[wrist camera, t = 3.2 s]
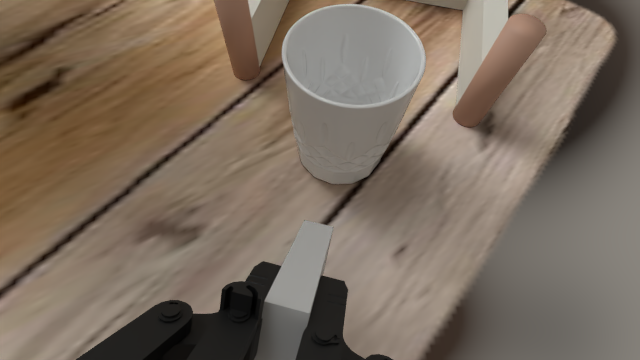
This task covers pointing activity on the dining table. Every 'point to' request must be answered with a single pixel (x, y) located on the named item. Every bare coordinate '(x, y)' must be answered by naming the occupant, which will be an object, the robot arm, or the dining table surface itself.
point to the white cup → (349, 86)
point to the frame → (477, 3)
